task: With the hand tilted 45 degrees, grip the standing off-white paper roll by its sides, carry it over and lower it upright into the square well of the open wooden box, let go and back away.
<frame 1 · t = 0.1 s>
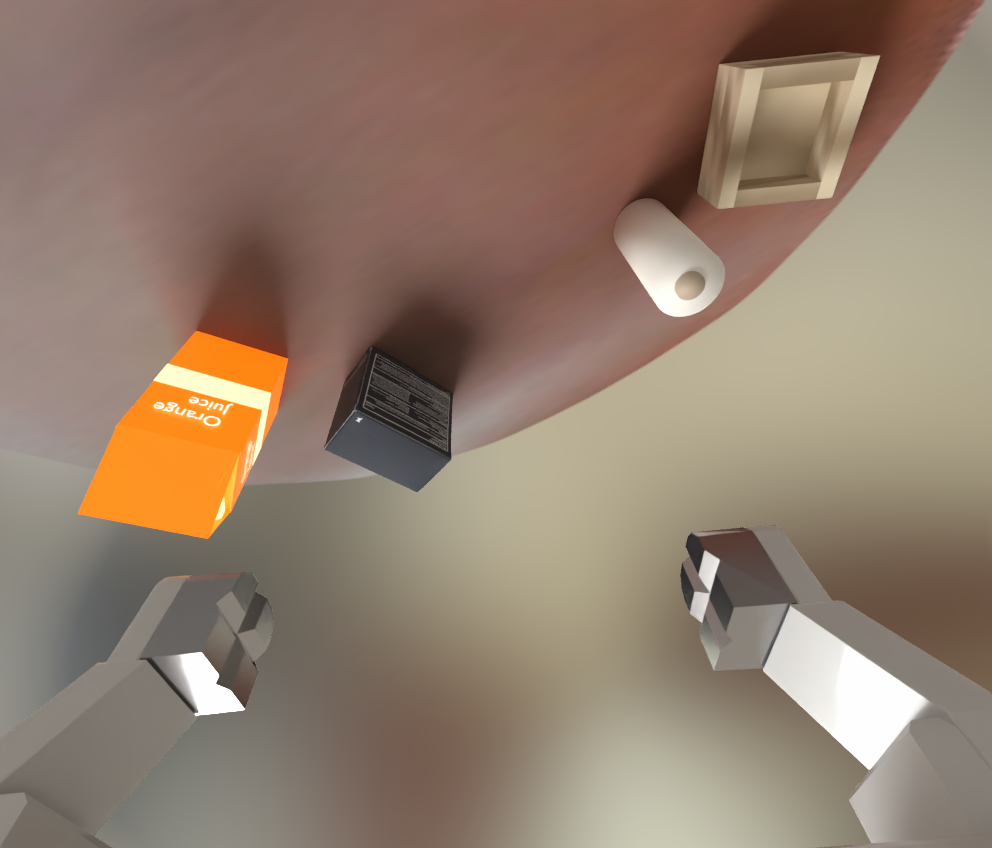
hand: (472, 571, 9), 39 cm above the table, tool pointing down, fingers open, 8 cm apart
open wooden box: (763, 127, 39), on the table
orange juice: (239, 372, 52), on the table
small box: (398, 388, 54), on the table
paper roll: (641, 227, 44), on the table
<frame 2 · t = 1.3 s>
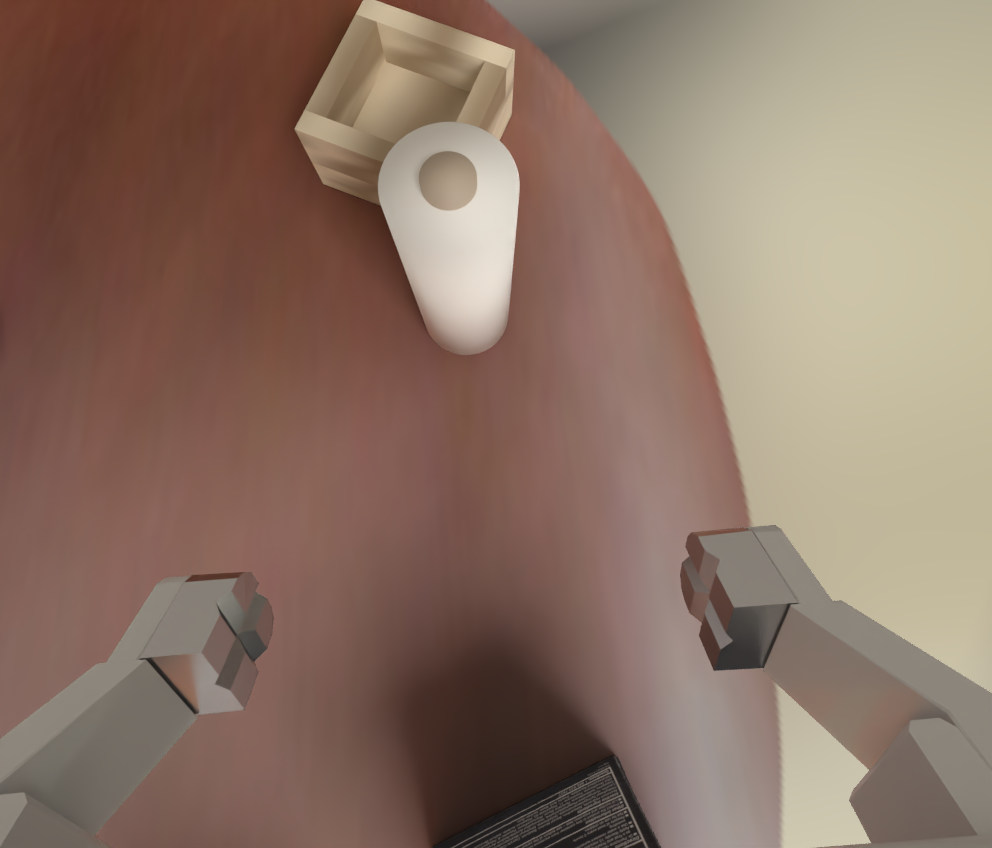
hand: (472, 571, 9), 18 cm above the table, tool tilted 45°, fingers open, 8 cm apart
open wooden box: (418, 148, 31), on the table
paper roll: (466, 314, 29), on the table
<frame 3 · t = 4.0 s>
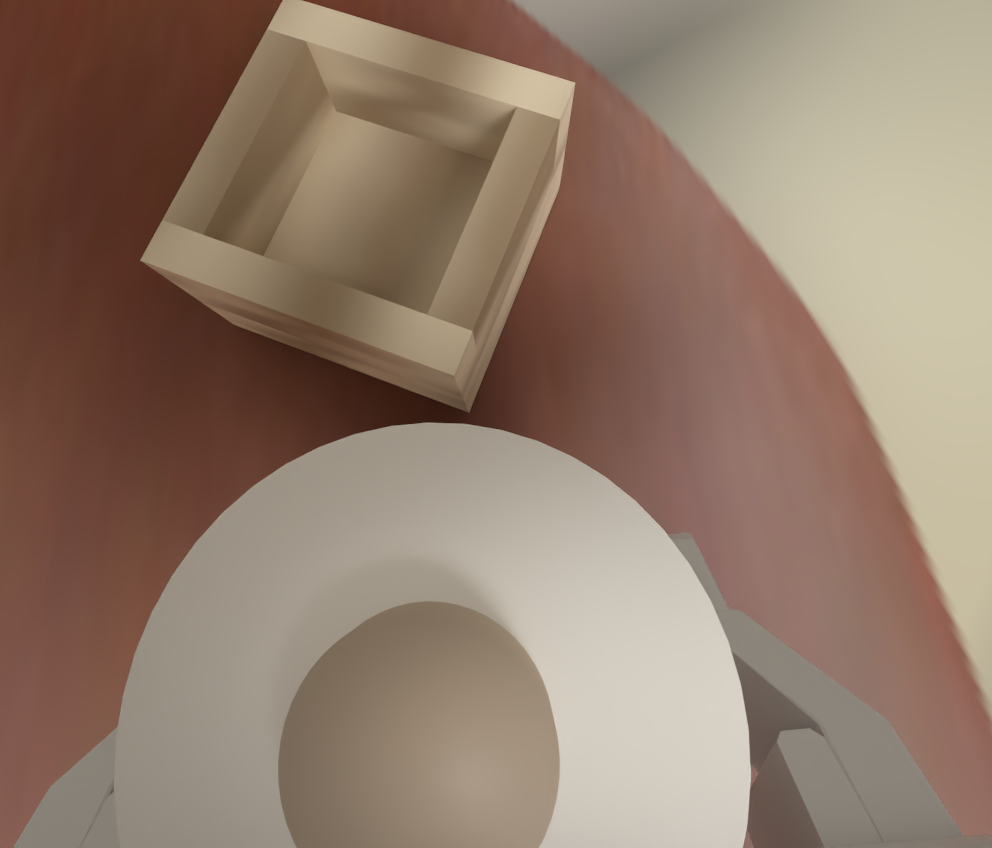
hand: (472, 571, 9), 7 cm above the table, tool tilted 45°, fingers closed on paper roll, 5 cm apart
open wooden box: (399, 255, 18), on the table
paper roll: (489, 568, 16), on the table, touching gripper
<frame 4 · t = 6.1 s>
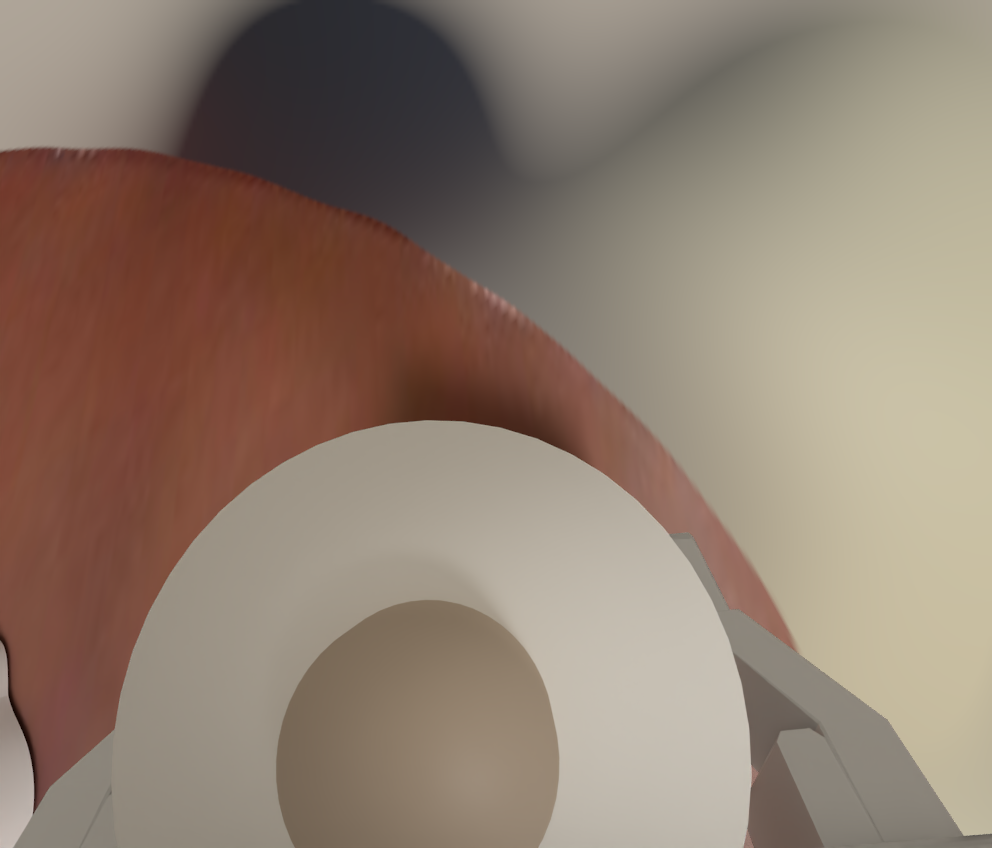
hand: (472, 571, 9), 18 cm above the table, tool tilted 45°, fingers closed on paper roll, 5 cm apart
paper roll: (489, 567, 16), point 12 cm above the table, touching gripper
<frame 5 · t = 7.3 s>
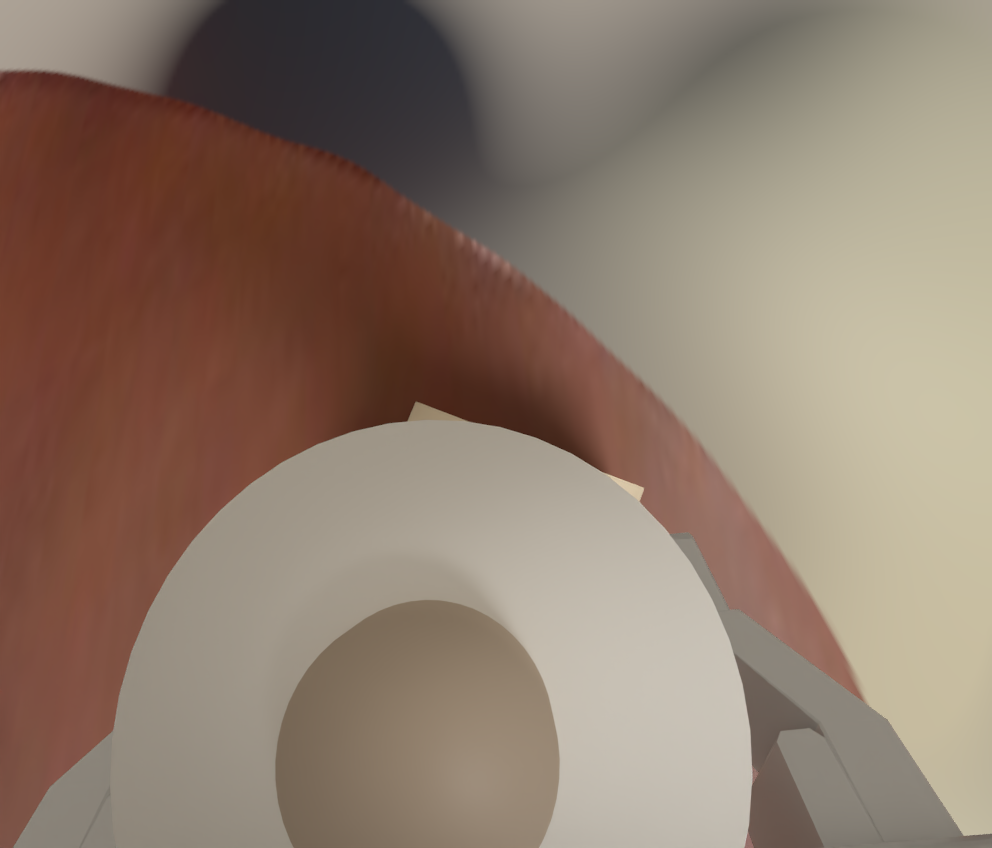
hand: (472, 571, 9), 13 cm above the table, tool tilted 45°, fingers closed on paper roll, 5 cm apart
open wooden box: (487, 551, 22), on the table
paper roll: (489, 567, 16), point 6 cm above the table, touching gripper
when the fingers open (10 cm above the table, at t = 8.4 s): paper roll drops 1 cm, resting on open wooden box.
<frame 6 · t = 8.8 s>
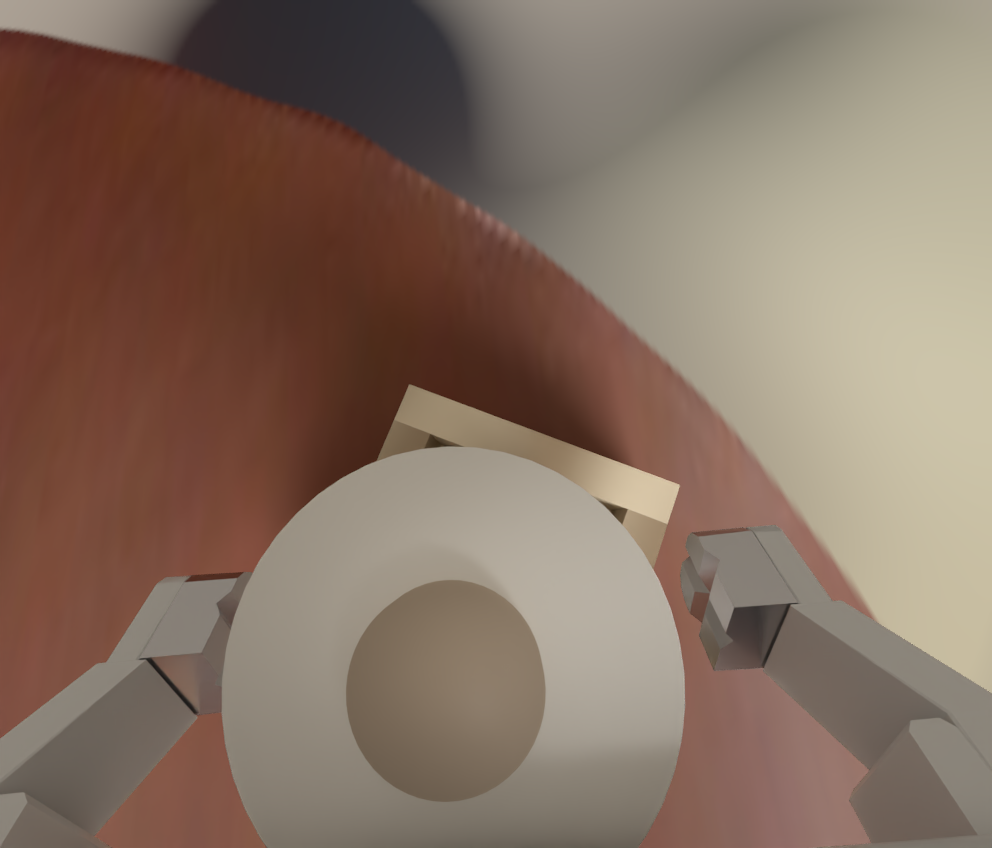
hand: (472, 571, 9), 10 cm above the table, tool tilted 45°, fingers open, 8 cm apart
open wooden box: (494, 558, 19), on the table
paper roll: (492, 563, 17), point 2 cm above the table, touching open wooden box
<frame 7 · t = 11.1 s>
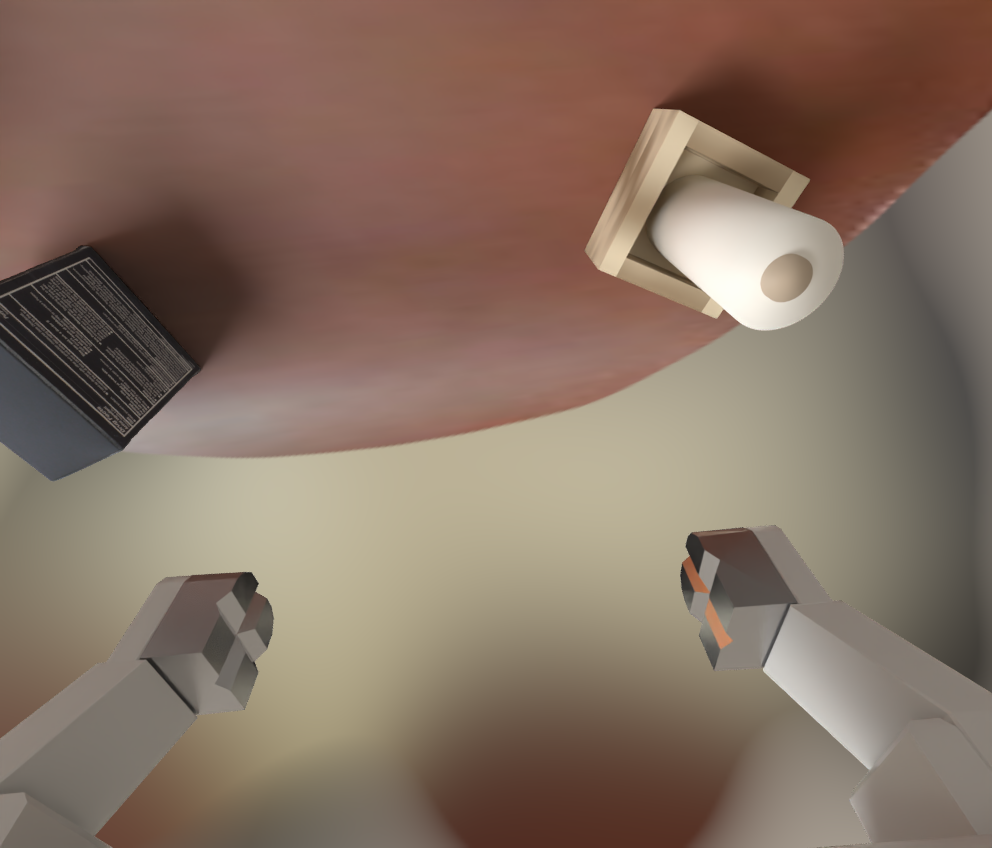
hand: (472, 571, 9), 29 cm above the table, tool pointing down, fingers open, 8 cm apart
open wooden box: (674, 211, 33), on the table
small box: (119, 327, 36), on the table
paper roll: (685, 218, 31), point 2 cm above the table, touching open wooden box
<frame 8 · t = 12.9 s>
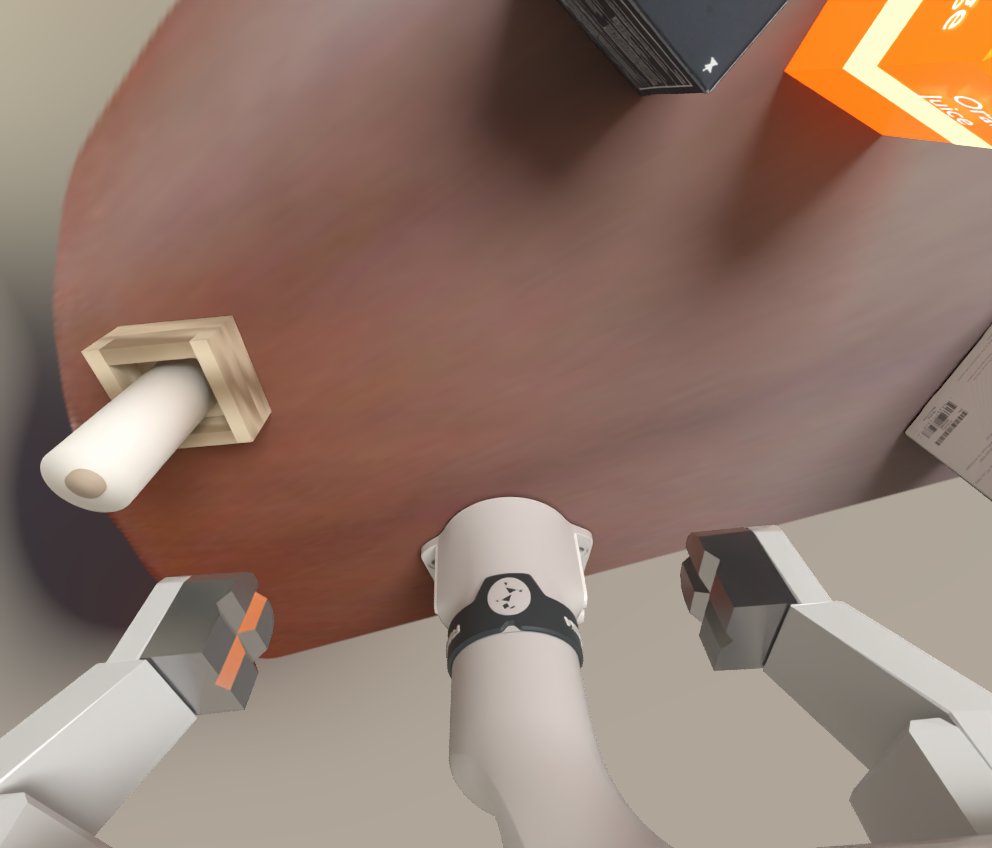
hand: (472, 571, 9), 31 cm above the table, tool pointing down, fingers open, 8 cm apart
open wooden box: (199, 371, 41), on the table
orange juice: (878, 38, 30), on the table
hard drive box: (990, 368, 44), on the table
paper roll: (187, 383, 39), point 2 cm above the table, touching open wooden box
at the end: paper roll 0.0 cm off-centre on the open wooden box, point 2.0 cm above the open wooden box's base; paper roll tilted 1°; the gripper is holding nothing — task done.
